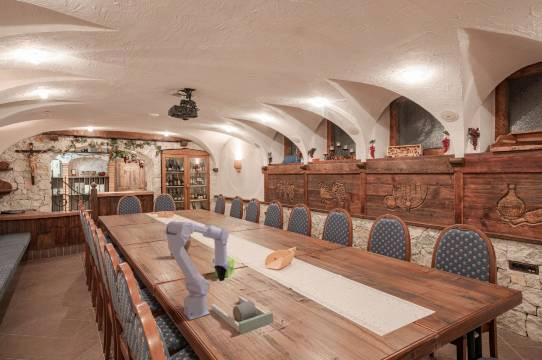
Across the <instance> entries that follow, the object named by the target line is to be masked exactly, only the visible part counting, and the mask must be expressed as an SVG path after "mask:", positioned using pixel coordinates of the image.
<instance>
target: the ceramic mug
mask: <svg viewBox="0 0 542 360" xmlns="http://www.w3.org/2000/svg"><path fill="white" fill-rule="evenodd" d="M255 305H256V304H255V303H254V302H253V301H252V300H250V299H249V300H248V301H247V302H244V303H242V304H241V303H239V304H237V305H235V306H234V307H233V308H232V316H233V317H232V318H233V319H234V320H236V321H237V322H238V323H239V322H241V321H244V320H247V319H250V318H253V317H256V316H258V314H257V311H256V307H255Z"/></svg>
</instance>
